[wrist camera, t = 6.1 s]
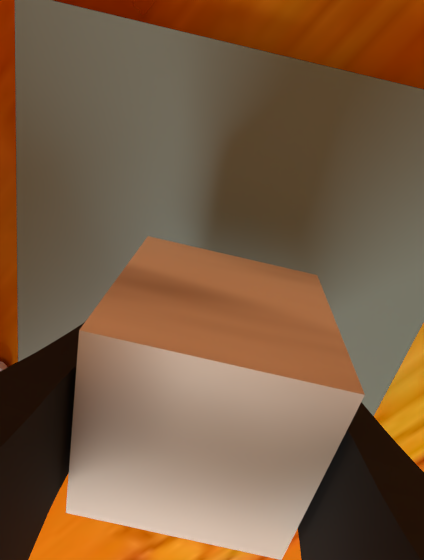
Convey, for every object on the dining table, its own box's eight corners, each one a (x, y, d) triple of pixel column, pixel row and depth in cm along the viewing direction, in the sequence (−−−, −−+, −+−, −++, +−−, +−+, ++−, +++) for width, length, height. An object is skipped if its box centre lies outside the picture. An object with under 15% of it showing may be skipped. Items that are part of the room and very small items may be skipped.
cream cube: (270, 403, 13) (281, 560, 9) (127, 371, 13) (65, 512, 9) (317, 275, 11) (364, 394, 7) (147, 236, 11) (79, 330, 7)
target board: (339, 448, 20) (345, 468, 19) (31, 379, 19) (18, 396, 18) (509, 114, 13) (533, 115, 12) (34, 0, 12) (14, -9, 11)
